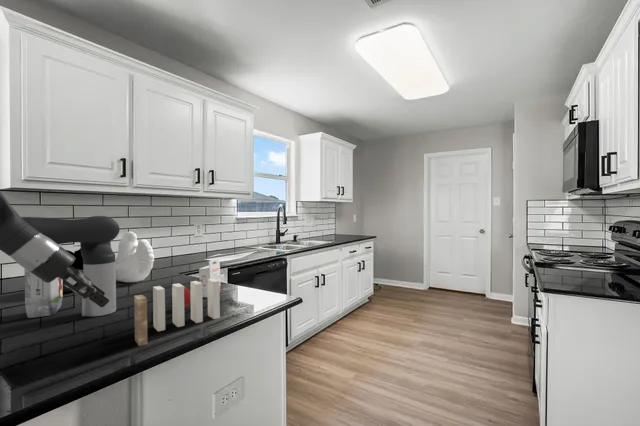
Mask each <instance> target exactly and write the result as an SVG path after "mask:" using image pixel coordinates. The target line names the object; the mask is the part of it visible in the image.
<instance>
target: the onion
mask: <svg viewBox="0 0 640 426" xmlns="http://www.w3.org/2000/svg"><path fill="white" fill-rule="evenodd" d="M183 286H184V285H183ZM189 306H191V297H190V289H188V288H187V287H186V285H185V286H184V310H185V309H186V308H188V307H189Z"/></svg>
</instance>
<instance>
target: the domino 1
mask: <svg viewBox="0 0 640 426" xmlns="http://www.w3.org/2000/svg"><path fill="white" fill-rule="evenodd" d="M165 293H166V290H165V288H164V287H162V286H161V285H157V286H152V300H153V301H152V304H153V305H152V309H153V313H152V314H153V315H152V316H153V317H152V318H153V319H152V320H153V328H154V329H155V330H156V332H161V331H165V330H166V294H165Z"/></svg>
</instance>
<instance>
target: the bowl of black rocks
mask: <svg viewBox="0 0 640 426" xmlns="http://www.w3.org/2000/svg"><path fill="white" fill-rule="evenodd" d="M65 250H66V251H68V252H69V253H70V254H72V255H73V256H74V257H75V258H76V259H75V261H74V262H73V264H72V265H71V267H74V269H75V270H76V269H78V270H80V271H81V272H82V273H83V257H82V255H81V247H80V248H79V249H78V250H75V251H74V252H73V251H71V250H69V249H68V250H67V249H65ZM69 267H70V266H69ZM63 281H64V280H62V288H63V293H70V292H74V291H73V290H72V289H70V288H68V287H66V286H65V285H63Z"/></svg>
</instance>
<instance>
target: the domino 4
mask: <svg viewBox="0 0 640 426" xmlns="http://www.w3.org/2000/svg"><path fill="white" fill-rule="evenodd" d="M207 289H208V297H207V316H208V317H210V318H211V319H213V320H217V319H220V318H221V314H220V313H221V306H220V305H221V304H220V303H221V302H220V301H221V299H220V293H221V286H220V287H219V281H218V280H216V279H207Z"/></svg>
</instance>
